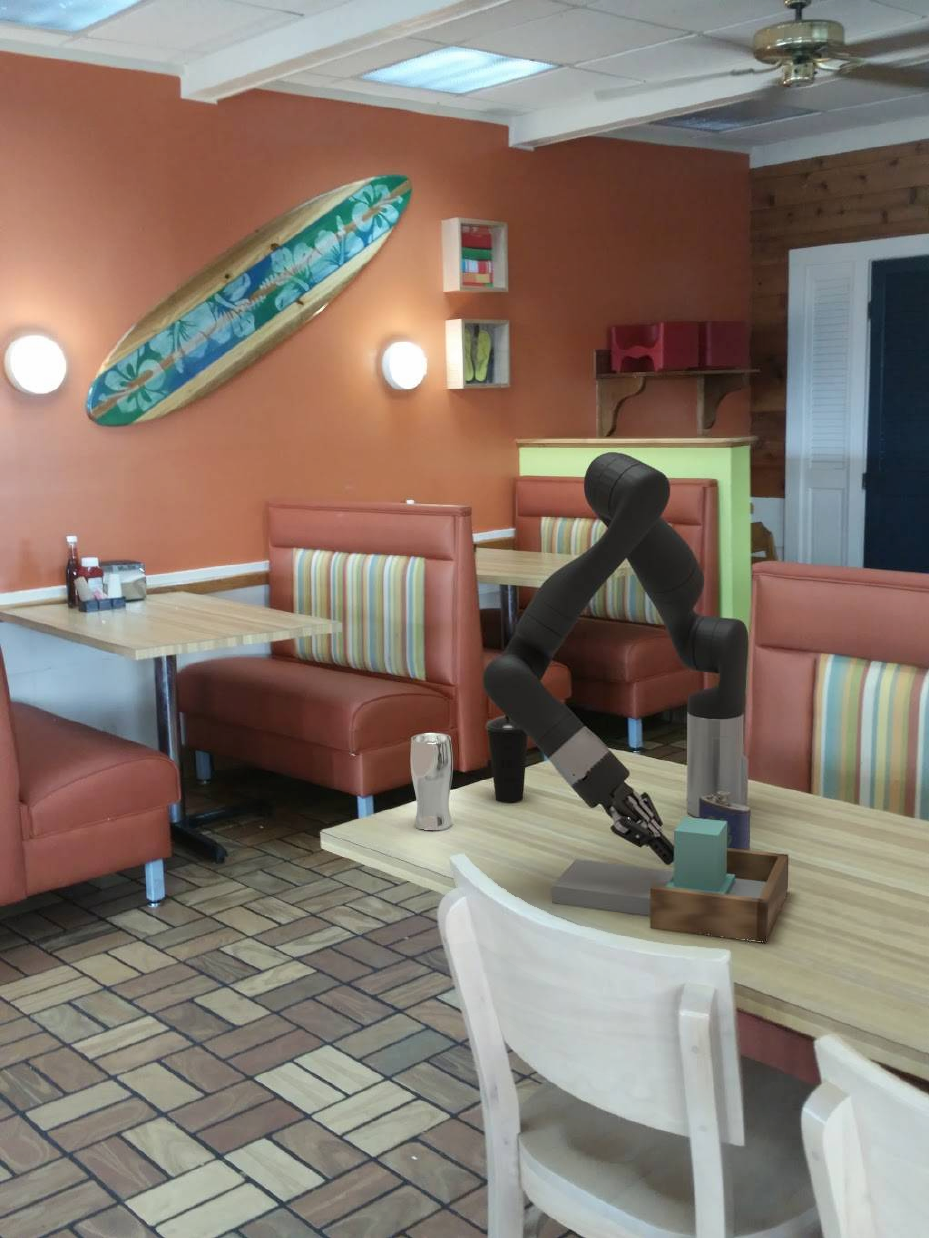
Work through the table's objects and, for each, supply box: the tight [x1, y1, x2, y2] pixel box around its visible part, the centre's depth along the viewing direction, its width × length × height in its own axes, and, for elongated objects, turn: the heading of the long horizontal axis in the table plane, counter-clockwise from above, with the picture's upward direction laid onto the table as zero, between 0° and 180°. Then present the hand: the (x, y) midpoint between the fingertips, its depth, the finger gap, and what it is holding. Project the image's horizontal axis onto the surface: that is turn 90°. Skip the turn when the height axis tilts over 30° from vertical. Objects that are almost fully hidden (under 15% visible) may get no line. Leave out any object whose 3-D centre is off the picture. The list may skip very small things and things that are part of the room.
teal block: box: [666, 816, 735, 895], centre depth 177 cm, size 8×8×9 cm
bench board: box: [551, 858, 766, 917], centre depth 180 cm, size 28×11×2 cm, turn 68°
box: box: [649, 848, 789, 943], centre depth 176 cm, size 15×18×6 cm
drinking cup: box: [485, 714, 529, 804], centre depth 225 cm, size 8×8×20 cm
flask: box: [699, 791, 752, 850], centre depth 195 cm, size 9×3×11 cm, turn 40°
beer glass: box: [410, 732, 454, 831], centre depth 213 cm, size 7×7×15 cm
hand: (674, 859), depth 178 cm, fingers closed
